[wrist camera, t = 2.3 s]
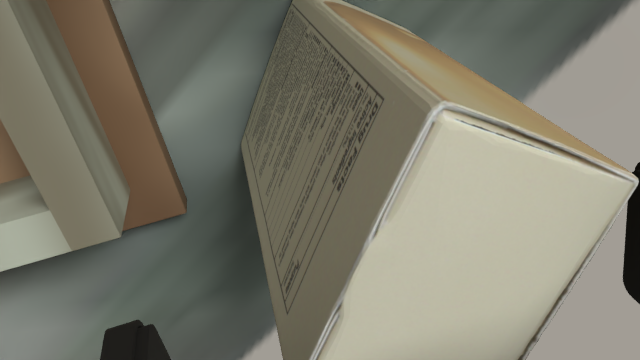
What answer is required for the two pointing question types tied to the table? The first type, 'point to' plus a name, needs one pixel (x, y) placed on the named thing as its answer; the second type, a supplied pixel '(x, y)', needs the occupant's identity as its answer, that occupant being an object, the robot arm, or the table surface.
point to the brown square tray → (74, 133)
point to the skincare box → (412, 198)
